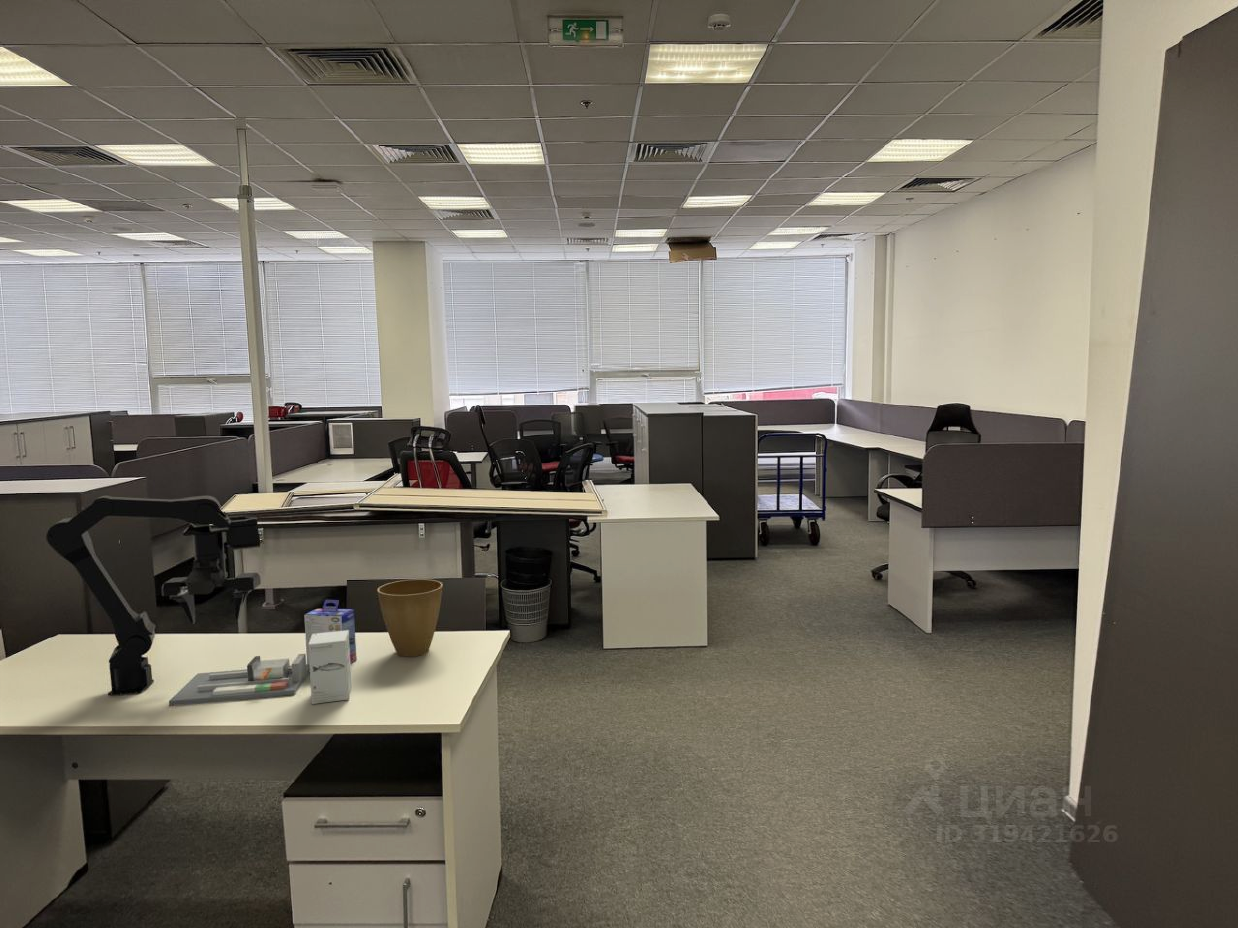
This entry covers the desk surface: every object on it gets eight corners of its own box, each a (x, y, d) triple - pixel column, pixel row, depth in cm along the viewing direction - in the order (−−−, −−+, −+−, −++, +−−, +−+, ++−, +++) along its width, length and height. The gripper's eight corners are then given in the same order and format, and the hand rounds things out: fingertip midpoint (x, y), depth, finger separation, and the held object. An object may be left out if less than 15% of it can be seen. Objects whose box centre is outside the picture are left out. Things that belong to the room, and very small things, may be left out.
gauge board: (169, 705, 150) (167, 681, 150) (198, 677, 165) (196, 655, 165) (294, 694, 154) (292, 671, 154) (311, 667, 169) (310, 646, 169)
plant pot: (417, 666, 168) (413, 597, 167) (367, 657, 175) (363, 591, 173) (458, 645, 182) (455, 581, 180) (411, 637, 188) (407, 576, 186)
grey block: (242, 691, 153) (240, 672, 153) (256, 673, 163) (255, 656, 162) (278, 687, 155) (276, 669, 154) (290, 671, 164) (289, 653, 163)
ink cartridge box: (358, 659, 174) (354, 598, 172) (345, 668, 169) (341, 605, 167) (320, 657, 176) (316, 597, 174) (306, 666, 171) (301, 604, 169)
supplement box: (311, 705, 149) (306, 644, 147) (315, 691, 156) (311, 632, 155) (350, 700, 151) (345, 639, 149) (352, 686, 158) (349, 628, 157)
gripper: (146, 564, 155) (153, 636, 157) (242, 558, 158) (248, 629, 160) (169, 552, 166) (175, 620, 168) (258, 547, 169) (264, 614, 171)
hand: (215, 621), depth 166 cm, fingers open, 9 cm apart
